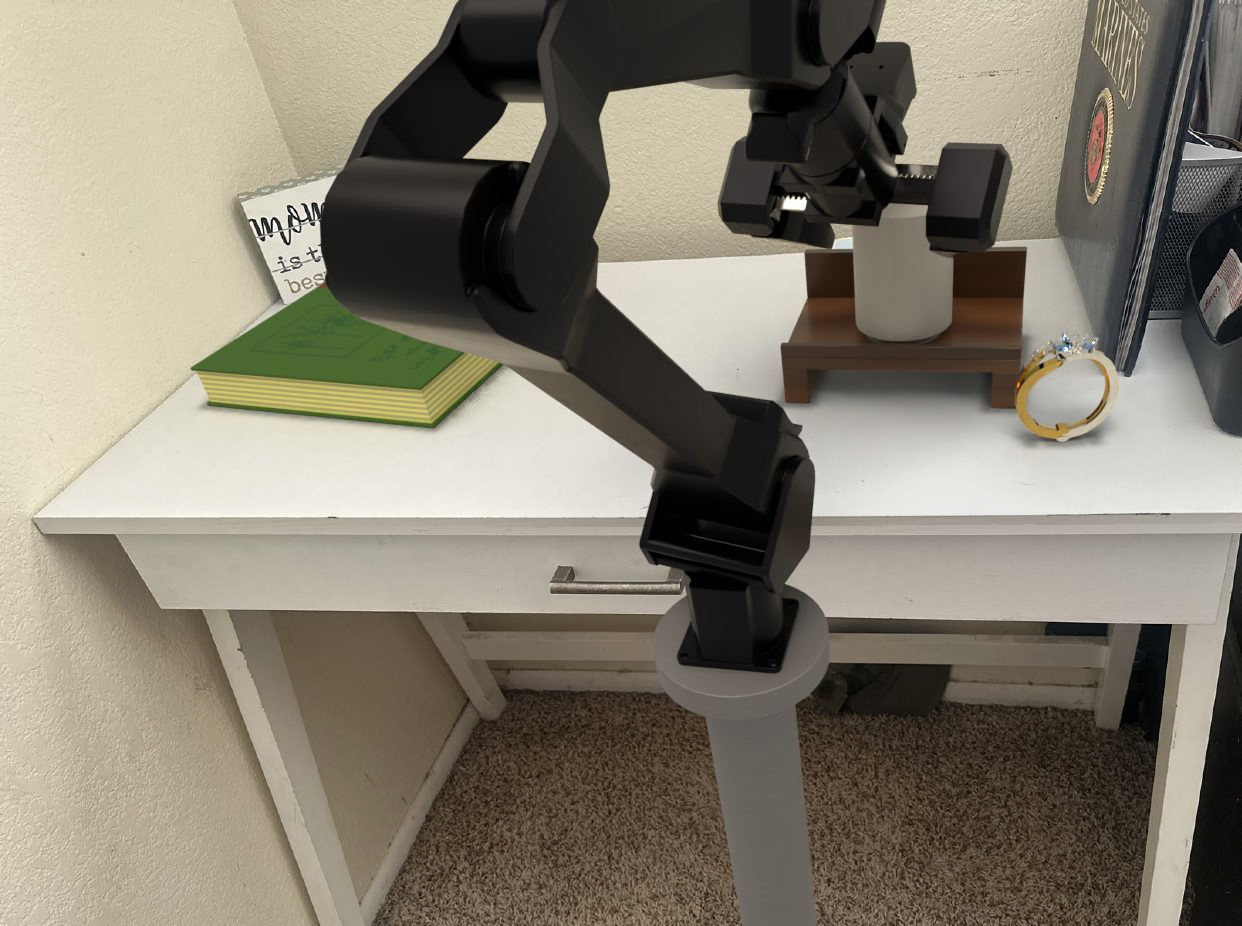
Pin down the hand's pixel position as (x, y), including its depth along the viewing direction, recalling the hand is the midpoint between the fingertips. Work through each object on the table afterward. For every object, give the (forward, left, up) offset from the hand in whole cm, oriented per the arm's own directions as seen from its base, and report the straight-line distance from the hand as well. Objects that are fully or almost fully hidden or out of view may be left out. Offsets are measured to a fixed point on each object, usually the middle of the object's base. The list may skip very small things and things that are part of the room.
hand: (890, 246), depth 74 cm
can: (+3, -1, -8) cm, 9 cm away
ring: (-6, -13, -12) cm, 19 cm away
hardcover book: (+3, +48, -12) cm, 50 cm away
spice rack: (+4, -1, -12) cm, 13 cm away
